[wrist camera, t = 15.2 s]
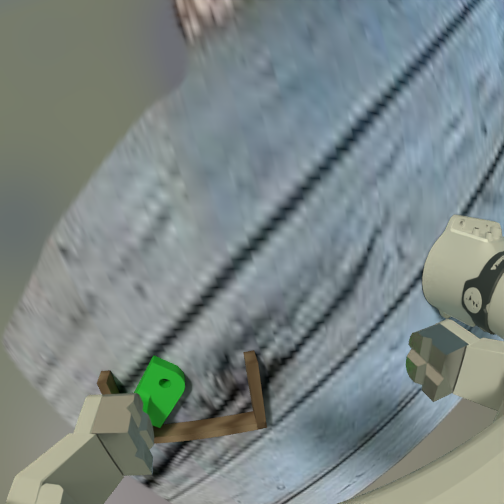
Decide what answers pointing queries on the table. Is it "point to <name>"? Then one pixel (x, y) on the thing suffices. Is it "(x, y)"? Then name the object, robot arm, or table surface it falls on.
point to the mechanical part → (160, 389)
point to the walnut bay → (213, 425)
